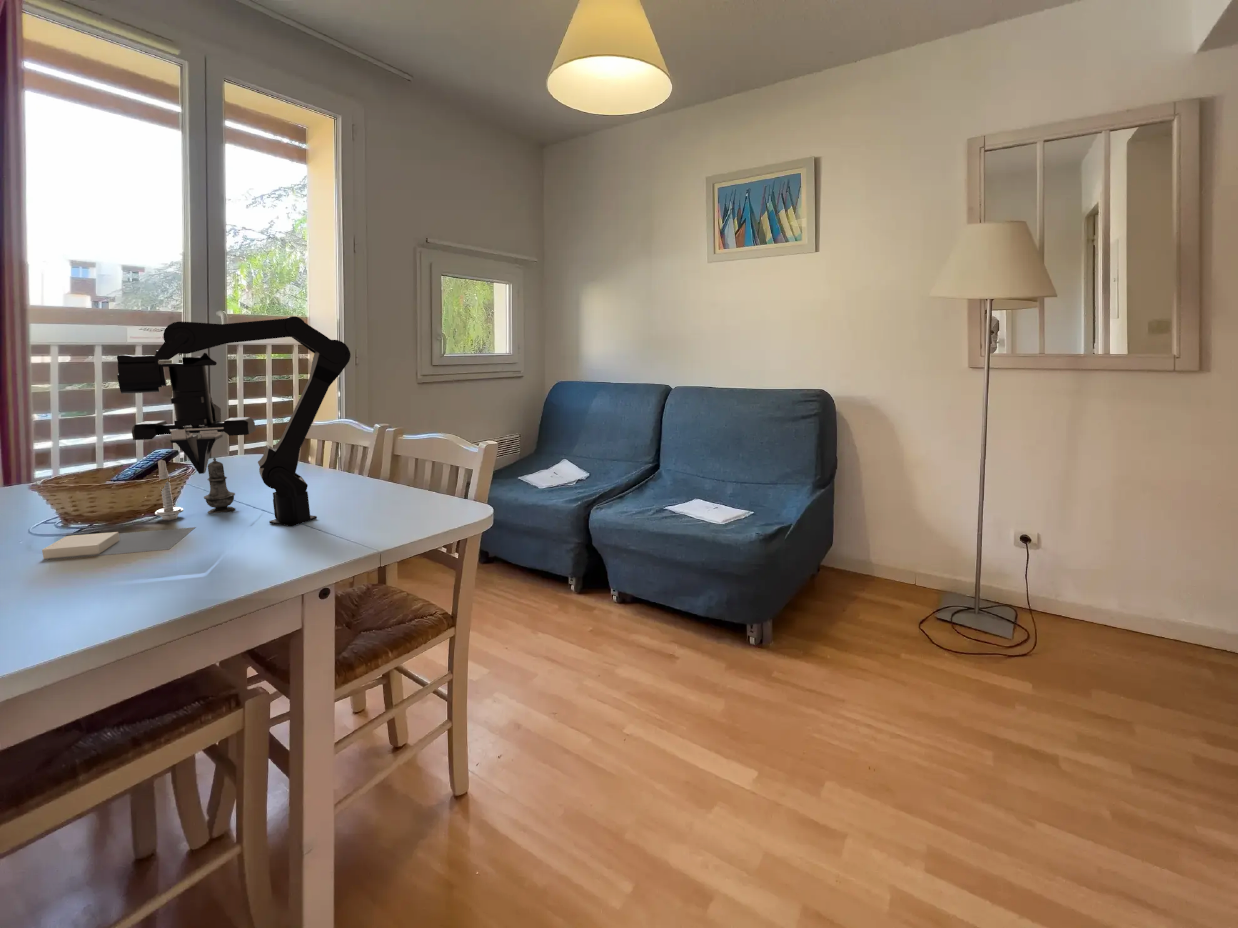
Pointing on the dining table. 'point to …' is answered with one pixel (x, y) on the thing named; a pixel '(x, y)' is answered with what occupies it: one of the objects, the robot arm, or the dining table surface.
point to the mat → (142, 542)
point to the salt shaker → (218, 489)
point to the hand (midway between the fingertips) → (202, 473)
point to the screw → (167, 496)
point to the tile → (81, 545)
